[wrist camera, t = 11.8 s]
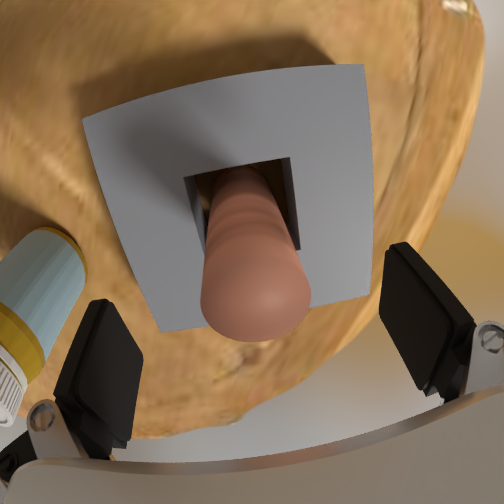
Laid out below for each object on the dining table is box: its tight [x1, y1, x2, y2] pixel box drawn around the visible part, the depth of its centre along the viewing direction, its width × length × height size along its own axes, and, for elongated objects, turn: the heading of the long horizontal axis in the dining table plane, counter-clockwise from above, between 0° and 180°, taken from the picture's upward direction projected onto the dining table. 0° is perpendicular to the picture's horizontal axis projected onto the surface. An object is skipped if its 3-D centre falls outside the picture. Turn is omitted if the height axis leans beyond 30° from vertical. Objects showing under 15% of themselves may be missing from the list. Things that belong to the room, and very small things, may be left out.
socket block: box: [82, 64, 373, 333], centre depth 19 cm, size 16×16×4 cm
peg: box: [200, 166, 311, 342], centre depth 16 cm, size 4×4×12 cm
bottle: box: [0, 227, 88, 427], centre depth 16 cm, size 7×7×15 cm
